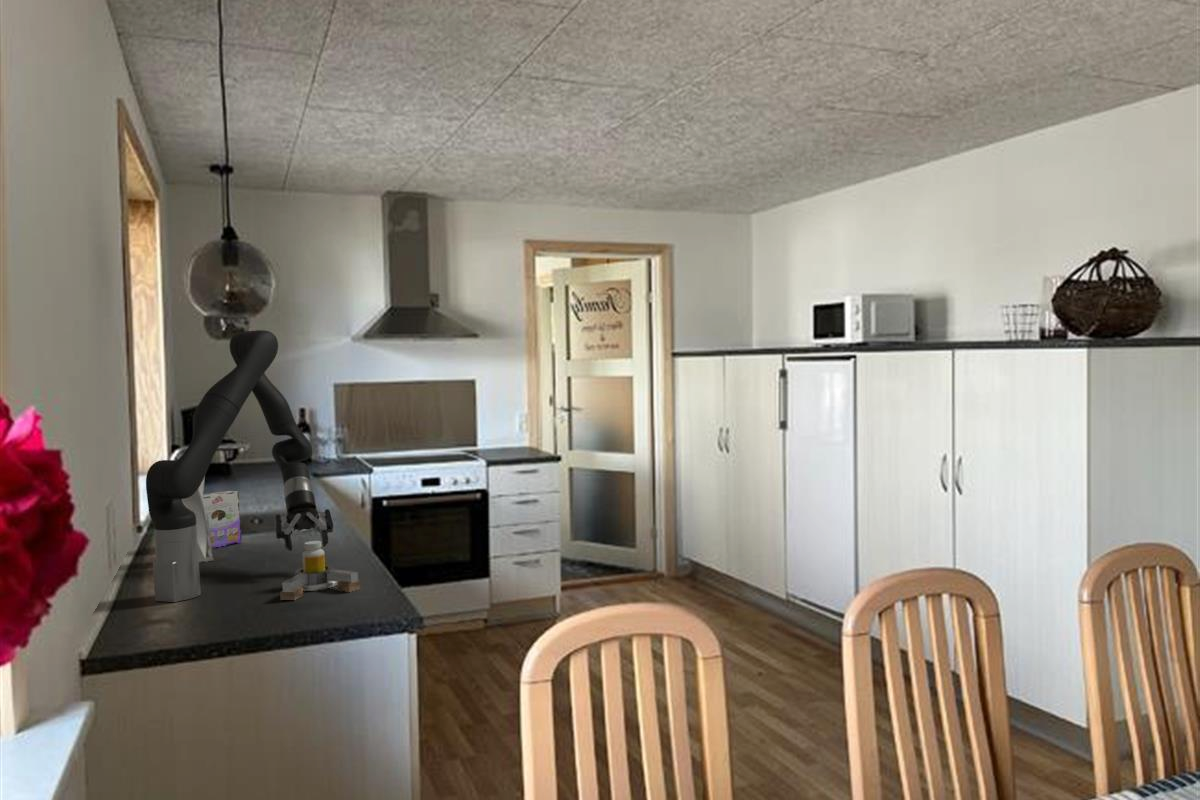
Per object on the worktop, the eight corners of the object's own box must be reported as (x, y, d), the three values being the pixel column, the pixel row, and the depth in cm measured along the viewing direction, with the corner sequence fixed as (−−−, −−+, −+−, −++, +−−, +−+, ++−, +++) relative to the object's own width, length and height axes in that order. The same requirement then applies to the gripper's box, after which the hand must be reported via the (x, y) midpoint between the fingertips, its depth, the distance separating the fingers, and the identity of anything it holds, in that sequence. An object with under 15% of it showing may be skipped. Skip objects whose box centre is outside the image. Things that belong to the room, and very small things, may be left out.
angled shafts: (326, 594, 202) (326, 585, 202) (277, 591, 206) (277, 582, 206) (361, 579, 215) (360, 570, 215) (314, 576, 219) (314, 568, 219)
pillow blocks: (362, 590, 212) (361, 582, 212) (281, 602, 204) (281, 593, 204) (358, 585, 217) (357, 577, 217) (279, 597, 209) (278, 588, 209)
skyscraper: (213, 562, 249) (207, 464, 248) (182, 566, 246) (175, 466, 244) (212, 556, 257) (206, 461, 255) (182, 560, 253) (176, 463, 252)
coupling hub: (320, 593, 211) (319, 576, 211) (279, 590, 215) (278, 574, 215) (349, 580, 223) (349, 564, 223) (310, 578, 227) (309, 562, 226)
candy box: (232, 541, 279) (229, 489, 278) (242, 543, 275) (239, 491, 274) (189, 549, 268) (186, 496, 267) (198, 552, 264) (195, 497, 263)
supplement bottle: (299, 581, 219) (297, 543, 219) (319, 576, 223) (317, 539, 222) (310, 584, 215) (308, 545, 215) (330, 579, 219) (328, 541, 219)
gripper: (272, 491, 232) (279, 542, 223) (327, 486, 238) (337, 535, 229) (271, 508, 237) (278, 558, 228) (325, 502, 244) (334, 551, 234)
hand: (307, 546), depth 228 cm, fingers open, 8 cm apart
